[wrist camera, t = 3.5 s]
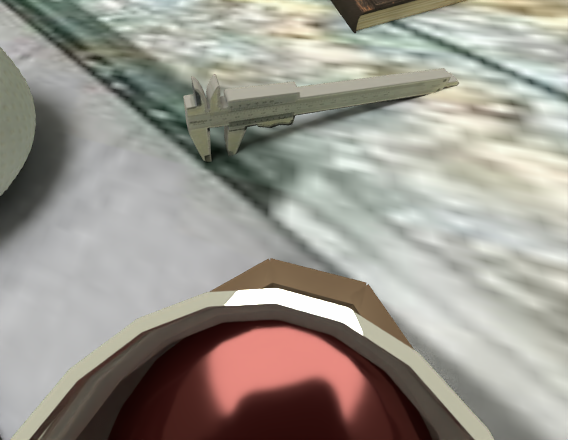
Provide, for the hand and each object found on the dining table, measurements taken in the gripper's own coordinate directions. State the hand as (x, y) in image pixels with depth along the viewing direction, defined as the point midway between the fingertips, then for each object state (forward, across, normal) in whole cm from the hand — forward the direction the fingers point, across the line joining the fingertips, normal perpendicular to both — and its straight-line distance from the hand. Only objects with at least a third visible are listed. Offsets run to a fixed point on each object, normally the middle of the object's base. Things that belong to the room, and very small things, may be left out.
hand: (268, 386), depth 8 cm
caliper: (+16, -7, -6) cm, 19 cm away
